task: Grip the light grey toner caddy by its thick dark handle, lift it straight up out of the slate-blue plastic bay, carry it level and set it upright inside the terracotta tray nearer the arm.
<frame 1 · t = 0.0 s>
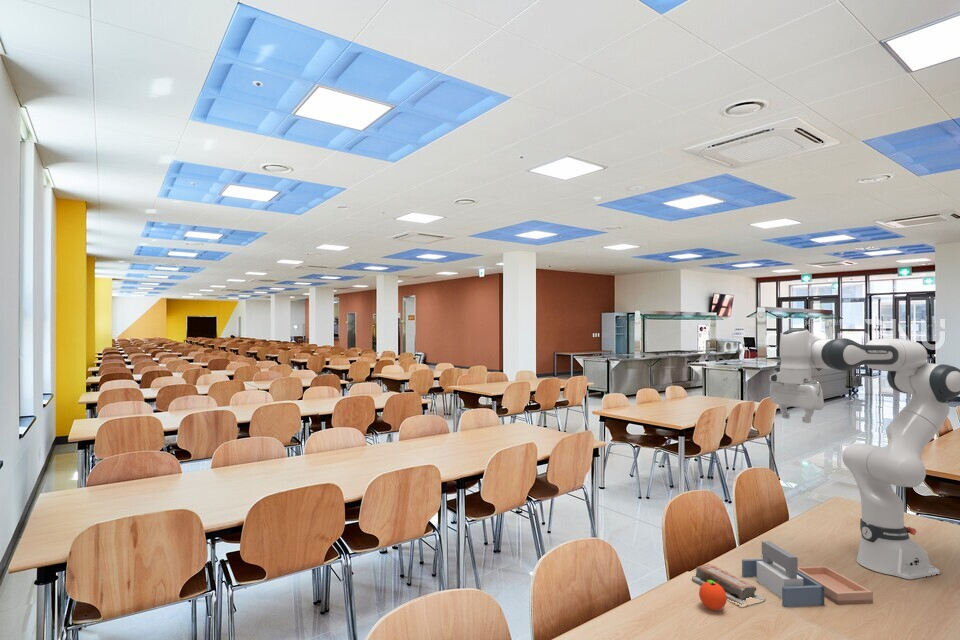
hand: (795, 420, 167), 48 cm above the table, tool pointing down, fingers open, 8 cm apart
packaged product: (726, 592, 151), on the table
slate bay: (779, 589, 152), on the table
clementine: (711, 608, 141), on the table
terracotta tray: (831, 589, 153), on the table
toner caddy: (779, 590, 152), on the table
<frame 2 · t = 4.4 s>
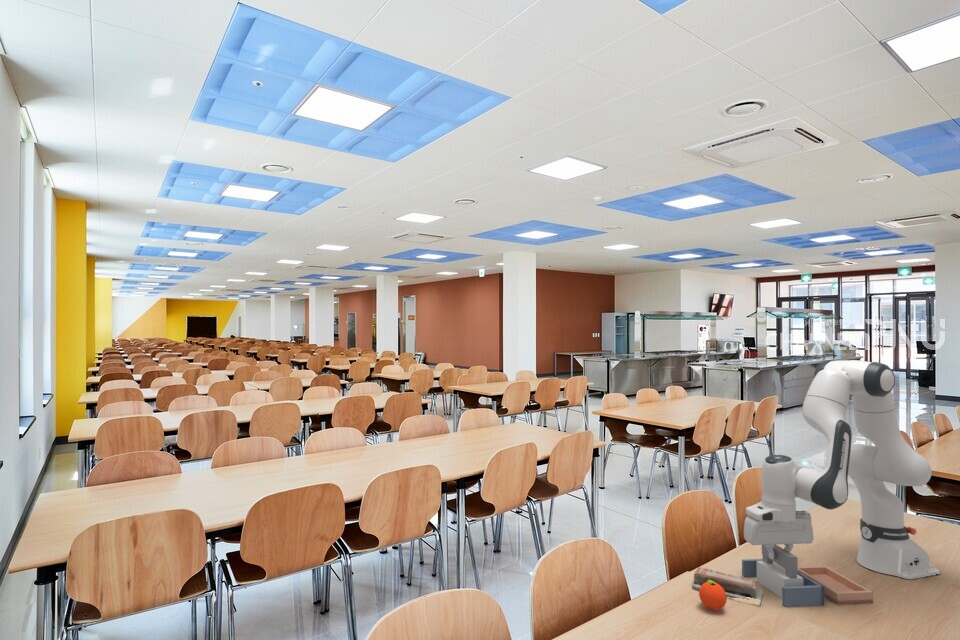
hand: (778, 558, 152), 9 cm above the table, tool pointing down, fingers closed on toner caddy, 2 cm apart
toner caddy: (779, 589, 152), on the table, touching gripper
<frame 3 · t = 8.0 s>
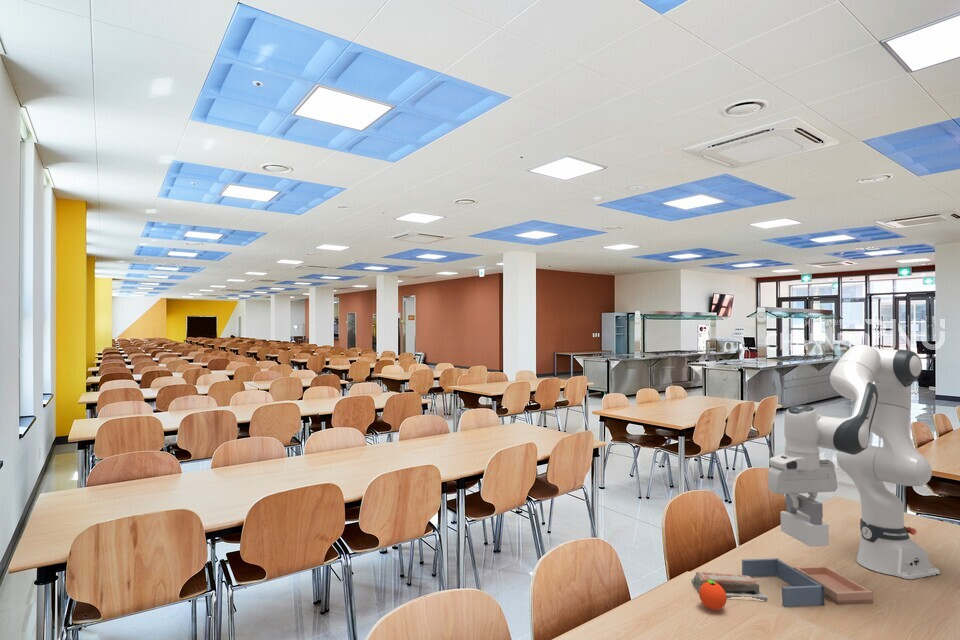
hand: (803, 507, 153), 24 cm above the table, tool pointing down, fingers closed on toner caddy, 2 cm apart
toner caddy: (804, 537, 153), point 15 cm above the table, touching gripper
when the fingers open (11 cm above the table, at t = 12.0 s): toner caddy stays where it is, resting on terracotta tray.
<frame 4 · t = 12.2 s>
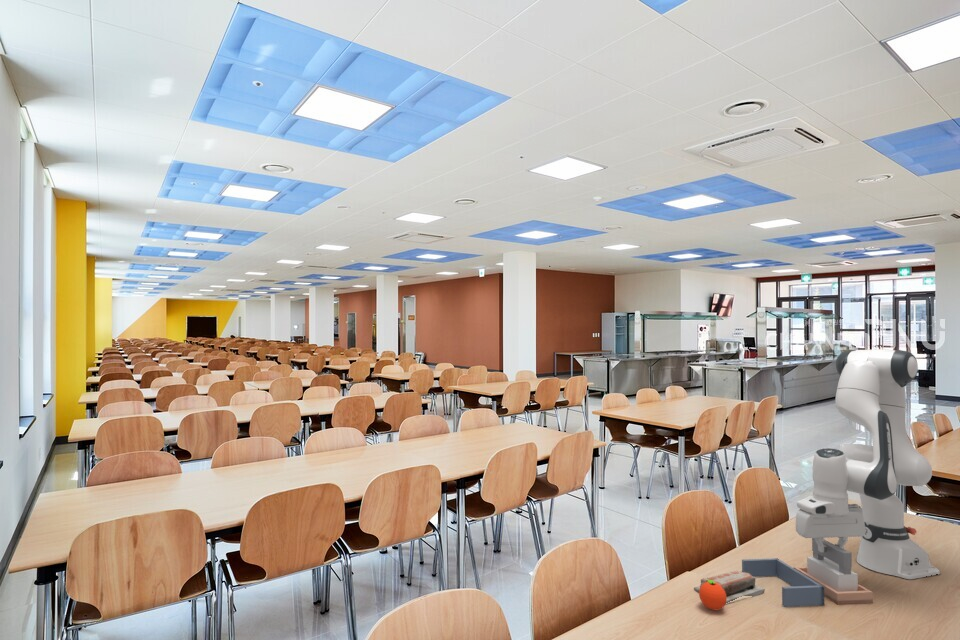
hand: (830, 551, 153), 11 cm above the table, tool pointing down, fingers open, 4 cm apart
toner caddy: (831, 585, 153), point 1 cm above the table, touching terracotta tray
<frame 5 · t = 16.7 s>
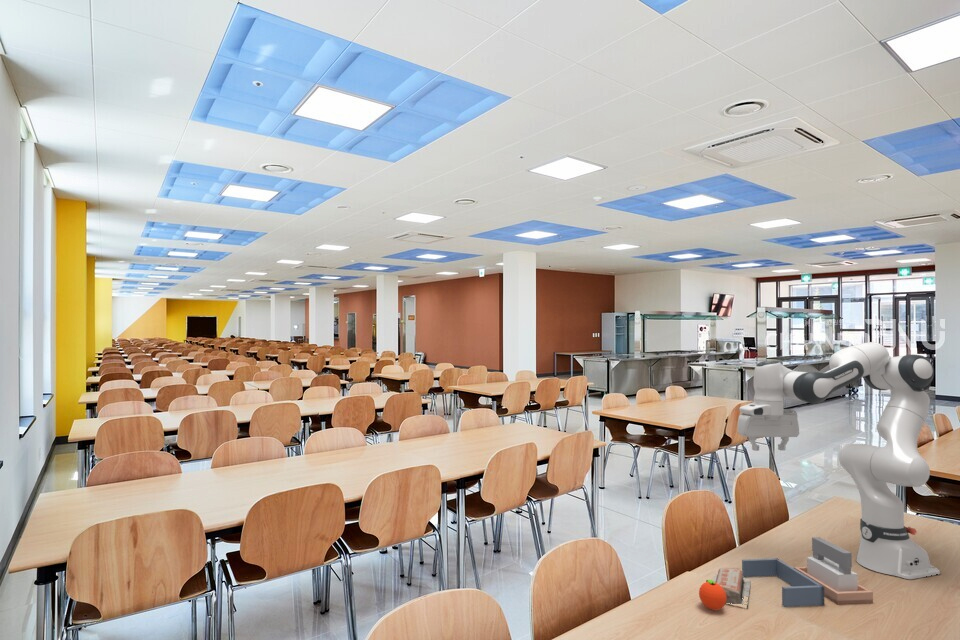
hand: (768, 450, 172), 37 cm above the table, tool pointing down, fingers open, 8 cm apart
at the end: toner caddy 0.1 cm off-centre on the terracotta tray, point 1.0 cm above the terracotta tray's base; toner caddy tilted 0°; the gripper is holding nothing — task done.
